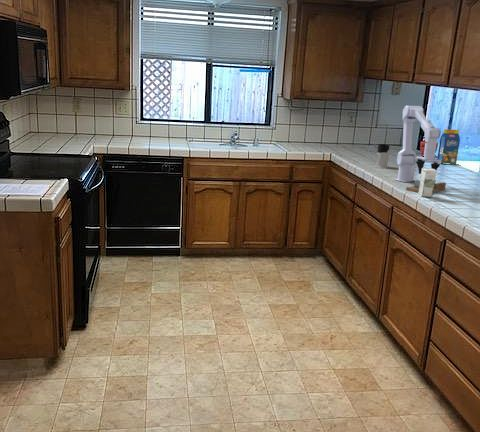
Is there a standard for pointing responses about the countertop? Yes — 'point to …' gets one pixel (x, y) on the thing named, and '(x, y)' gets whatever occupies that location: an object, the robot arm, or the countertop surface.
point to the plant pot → (424, 147)
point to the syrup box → (427, 182)
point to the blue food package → (449, 146)
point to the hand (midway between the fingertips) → (426, 174)
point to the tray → (418, 183)
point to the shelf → (436, 188)
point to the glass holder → (381, 155)
